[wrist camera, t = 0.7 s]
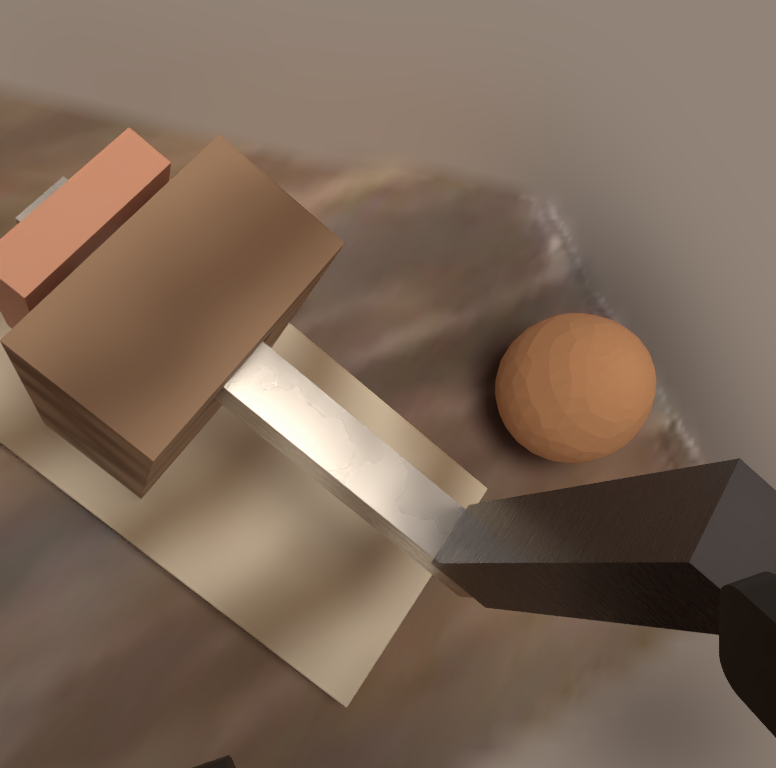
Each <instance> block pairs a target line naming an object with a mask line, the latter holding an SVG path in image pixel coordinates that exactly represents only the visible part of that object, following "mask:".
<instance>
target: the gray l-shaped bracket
mask: <svg viewBox="0 0 776 768" xmlns="http://www.w3.org/2000/svg"><path fill="white" fill-rule="evenodd" d="M67 181H68V180H67V179H66V178H65V177H64V176H63V177H62V178H61V179H60V180H59V181H57V182H56V183H55V184H54V185H53V186H52V187H50V188H49V189H48V190H47V191H46V192H45V193H44V194H42V195H41V196H40V197H39V198H38V199H37V200H35V201H34V202H33V203H32V204H31V205H30V206H28V207H27V208H26V209H25V210H24V211H23V212H22V213H20V214H19V215H18V216H17V217H16V222H17V224H18V223H20V222H21V221H22V220H23V219H24V218H25V217H26V216H28V215H29V214H30V213H31V212H32V211H33V210H35V209H36V208H37V207H38V206H39V205H40V204H41V203H43V202H44V201H45V200H46V199H47V198H48V197H49V196H51V195H52V194H53V193H54V192H55V191H56V190H58V189H59V188H60V187H61V186H62V185H63V184H64V183H66V182H67ZM215 400H217V401H218V402H219V403H220V404H222V405H223V406H224V407H225V408H226V409H228V410H229V411H230V412H231V413H233V414H234V415H235V416H236V417H238V418H239V419H240V420H241V421H243V422H244V423H245V424H246V425H247V426H249V427H250V428H251V429H252V430H254V431H255V432H256V433H257V434H259V435H260V436H261V437H262V438H264V439H265V440H266V441H267V442H269V443H270V444H271V445H272V446H273V447H275V448H276V449H277V450H278V451H280V452H281V453H282V454H283V455H285V456H286V457H287V458H288V459H290V460H291V461H292V462H293V463H294V464H296V465H297V466H298V467H299V468H301V469H302V470H303V471H304V472H306V473H307V474H308V475H309V476H311V477H312V478H313V479H314V480H316V481H317V482H318V483H319V484H320V485H322V486H323V487H324V488H325V489H327V490H328V491H329V492H330V493H332V494H333V495H334V496H335V497H337V498H338V499H339V500H340V501H341V502H343V503H344V504H345V505H346V506H348V507H349V508H350V509H351V510H353V511H354V512H355V513H356V514H358V515H359V516H360V517H361V518H362V519H364V520H365V521H366V522H367V523H369V524H370V525H371V526H372V527H374V528H375V529H376V530H377V531H379V532H380V533H381V534H382V535H384V536H385V537H386V538H387V539H388V540H390V541H391V542H392V543H393V544H395V545H396V546H397V547H398V548H400V549H401V550H402V551H403V552H405V553H406V554H407V555H408V556H409V557H411V558H412V559H413V560H414V561H416V562H417V563H418V564H419V565H421V566H422V567H423V568H424V569H426V570H427V571H428V572H429V573H431V574H432V575H433V576H434V577H435V578H437V579H438V580H439V581H440V582H442V583H443V584H444V585H445V586H447V587H448V588H449V589H450V590H452V591H453V592H454V593H455V594H456V595H458V596H460V597H471V598H474V599H476V600H477V601H478V602H479V603H481V604H482V605H483V606H484V607H486V608H494V609H503V610H511V611H520V612H528V613H537V614H545V615H554V616H562V617H571V618H579V619H588V620H596V621H605V622H613V623H622V624H631V625H639V626H648V627H656V628H665V629H673V630H682V631H690V632H699V633H707V634H716V635H719V593H720V589H721V588H722V587H723V586H724V585H727V584H730V583H733V582H735V581H738V580H741V579H744V578H747V577H750V576H753V575H756V574H758V573H761V572H765V571H766V572H771V573H773V574H775V575H776V491H775V490H774V489H773V488H772V487H771V486H770V485H769V484H768V483H767V482H766V481H764V480H763V479H762V478H761V477H760V476H758V474H757V473H755V472H754V471H753V470H752V469H751V468H750V467H749V466H747V465H746V464H745V463H744V462H743V461H742V460H741V459H740V458H739V459H734V460H728V461H722V462H716V463H710V464H704V465H699V466H693V467H687V468H681V469H675V470H669V471H664V472H658V473H652V474H646V475H640V476H634V477H628V478H623V479H617V480H611V481H605V482H599V483H593V484H588V485H582V486H576V487H570V488H564V489H558V490H553V491H547V492H541V493H535V494H529V495H523V496H518V497H512V498H506V499H500V500H494V501H488V502H482V503H477V504H471V505H468V507H467V508H466V509H465V508H463V507H462V506H461V505H460V504H458V503H457V502H456V501H455V500H454V499H452V498H451V497H450V496H449V495H448V494H446V493H445V492H444V491H443V490H442V489H440V488H439V487H438V486H437V485H436V484H434V483H433V482H432V481H431V480H430V479H428V478H427V477H426V476H425V475H423V474H422V473H421V472H420V471H419V470H417V469H416V468H415V467H414V466H413V465H411V464H410V463H409V462H408V461H407V460H405V459H404V458H403V457H402V456H401V455H399V454H398V453H397V452H396V451H395V450H393V449H392V448H391V447H390V446H388V445H387V444H386V443H385V442H384V441H382V440H381V439H380V438H379V437H378V436H376V435H375V434H374V433H373V432H372V431H370V430H369V429H368V428H367V427H366V426H364V425H363V424H362V423H361V422H360V421H358V420H357V419H356V418H355V417H353V416H352V415H351V414H350V413H349V412H347V411H346V410H345V409H344V408H343V407H341V406H340V405H339V404H338V403H337V402H335V401H334V400H333V399H332V398H331V397H329V396H328V395H327V394H326V393H325V392H323V391H322V390H321V389H320V388H318V387H317V386H316V385H315V384H314V383H312V382H311V381H310V380H309V379H308V378H306V377H305V376H304V375H303V374H302V373H300V372H299V371H298V370H297V369H296V368H294V367H293V366H292V365H291V364H290V363H288V362H287V361H286V360H285V359H284V358H282V357H281V356H280V355H279V354H277V353H276V352H275V351H274V350H273V349H271V348H270V347H269V346H268V345H267V344H265V343H264V342H262V343H261V344H260V345H259V347H258V348H257V349H256V350H255V351H254V352H253V353H252V355H251V356H250V357H249V358H248V359H247V360H246V361H245V363H244V364H243V365H242V366H241V367H240V368H239V369H238V371H237V372H236V373H235V374H234V375H233V376H232V378H231V379H230V380H229V381H228V382H227V383H226V384H225V386H224V387H223V388H222V389H221V390H220V391H219V392H218V394H217V395H216V397H215Z"/></svg>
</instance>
